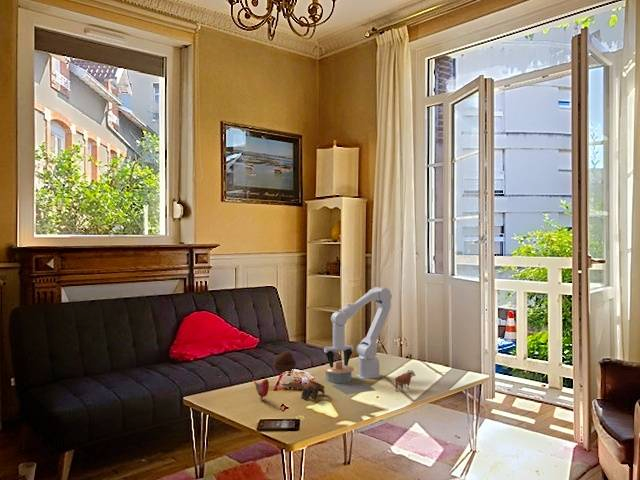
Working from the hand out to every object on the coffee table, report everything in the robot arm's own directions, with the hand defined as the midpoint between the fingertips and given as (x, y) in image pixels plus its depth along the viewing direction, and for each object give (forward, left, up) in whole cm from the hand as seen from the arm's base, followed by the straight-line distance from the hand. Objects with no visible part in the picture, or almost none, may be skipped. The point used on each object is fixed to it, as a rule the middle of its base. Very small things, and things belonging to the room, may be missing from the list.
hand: (338, 366), depth 262 cm
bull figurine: (-20, +26, -7) cm, 34 cm away
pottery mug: (+22, +21, -7) cm, 31 cm away
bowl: (0, 0, -7) cm, 7 cm away
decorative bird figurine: (+43, +13, -7) cm, 45 cm away
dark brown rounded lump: (+25, -6, -7) cm, 27 cm away
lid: (0, 0, -3) cm, 3 cm away
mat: (0, +15, -7) cm, 16 cm away
